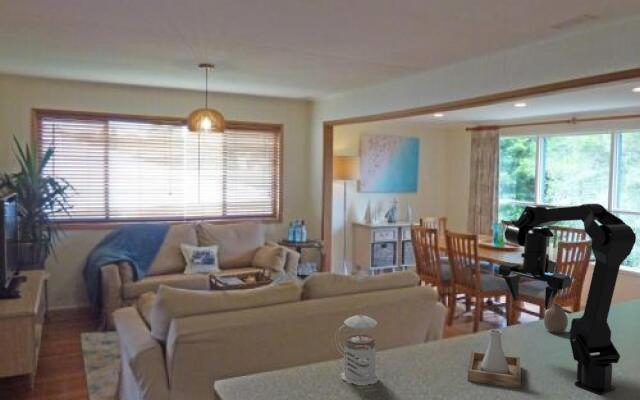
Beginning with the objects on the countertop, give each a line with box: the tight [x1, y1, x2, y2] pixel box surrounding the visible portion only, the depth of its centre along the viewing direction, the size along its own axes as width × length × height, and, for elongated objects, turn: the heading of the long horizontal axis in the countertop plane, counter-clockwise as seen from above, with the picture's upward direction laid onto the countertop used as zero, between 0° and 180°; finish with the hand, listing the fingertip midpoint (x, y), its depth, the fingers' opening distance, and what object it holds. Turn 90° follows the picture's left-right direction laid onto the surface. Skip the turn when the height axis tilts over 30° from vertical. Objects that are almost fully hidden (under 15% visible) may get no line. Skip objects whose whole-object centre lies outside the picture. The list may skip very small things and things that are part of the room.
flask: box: [480, 329, 509, 374], centre depth 128 cm, size 7×7×10 cm
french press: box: [334, 276, 380, 386], centre depth 125 cm, size 10×12×25 cm
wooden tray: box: [467, 350, 522, 389], centre depth 129 cm, size 12×14×2 cm
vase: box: [543, 303, 569, 334], centre depth 162 cm, size 7×7×9 cm
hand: (531, 305), depth 142 cm, fingers open, 9 cm apart
